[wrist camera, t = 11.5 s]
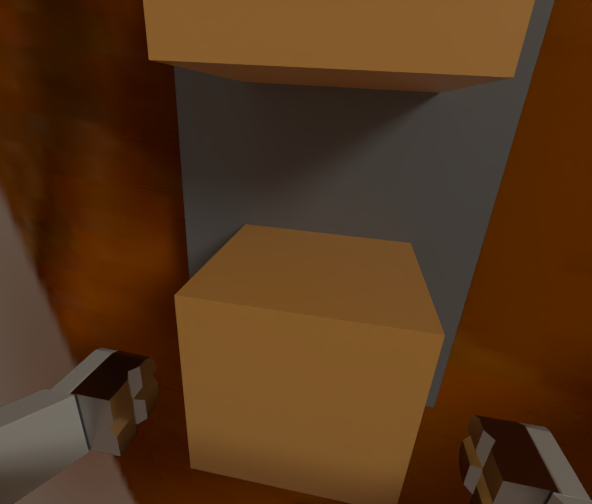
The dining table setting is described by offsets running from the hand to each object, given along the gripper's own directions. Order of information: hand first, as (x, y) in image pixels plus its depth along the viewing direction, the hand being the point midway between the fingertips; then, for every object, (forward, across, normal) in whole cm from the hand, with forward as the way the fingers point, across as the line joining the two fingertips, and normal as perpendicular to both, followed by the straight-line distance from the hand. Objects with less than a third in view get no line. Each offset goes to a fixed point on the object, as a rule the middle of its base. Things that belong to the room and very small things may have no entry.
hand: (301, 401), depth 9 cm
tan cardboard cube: (+4, 0, 0) cm, 4 cm away
